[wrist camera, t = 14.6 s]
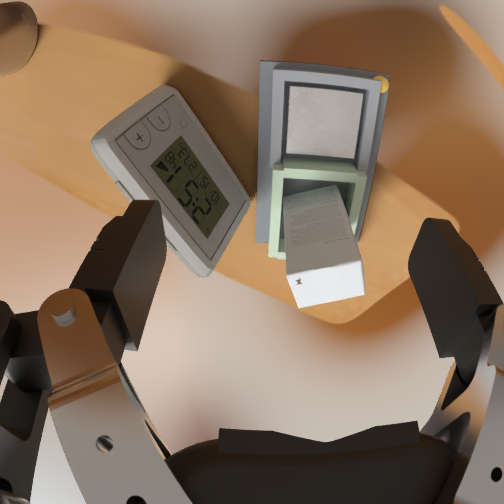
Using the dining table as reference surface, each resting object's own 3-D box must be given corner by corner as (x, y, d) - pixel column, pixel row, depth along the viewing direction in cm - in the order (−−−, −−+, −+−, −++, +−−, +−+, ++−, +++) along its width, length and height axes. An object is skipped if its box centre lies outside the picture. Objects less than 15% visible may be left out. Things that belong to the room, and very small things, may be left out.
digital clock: (255, 207, 36) (249, 273, 28) (183, 225, 38) (160, 291, 30) (201, 68, 26) (168, 91, 18) (122, 103, 29) (67, 141, 21)
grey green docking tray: (256, 239, 39) (254, 257, 36) (260, 60, 26) (258, 64, 23) (354, 244, 38) (359, 262, 36) (387, 73, 25) (399, 80, 23)
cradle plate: (285, 150, 30) (286, 153, 30) (289, 84, 26) (290, 86, 26) (352, 155, 30) (353, 158, 30) (361, 92, 26) (363, 93, 25)
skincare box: (291, 227, 36) (296, 310, 27) (281, 195, 34) (283, 275, 25) (344, 215, 35) (366, 296, 26) (338, 182, 32) (362, 258, 23)
